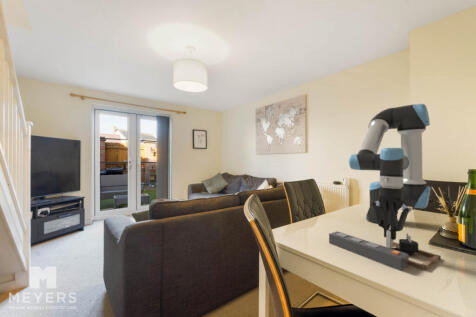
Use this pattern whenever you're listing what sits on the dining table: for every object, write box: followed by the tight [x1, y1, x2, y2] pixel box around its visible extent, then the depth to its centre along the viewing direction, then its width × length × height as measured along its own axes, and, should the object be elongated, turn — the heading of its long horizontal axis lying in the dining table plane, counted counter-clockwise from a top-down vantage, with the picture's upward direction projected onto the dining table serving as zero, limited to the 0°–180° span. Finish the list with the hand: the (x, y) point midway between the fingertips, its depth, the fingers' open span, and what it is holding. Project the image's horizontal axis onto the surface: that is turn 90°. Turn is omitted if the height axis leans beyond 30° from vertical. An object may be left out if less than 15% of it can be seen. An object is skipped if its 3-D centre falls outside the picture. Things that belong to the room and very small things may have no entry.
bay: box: [392, 241, 442, 272], centre depth 76 cm, size 14×14×2 cm
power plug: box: [391, 233, 419, 257], centre depth 80 cm, size 6×8×12 cm
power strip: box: [328, 230, 410, 271], centre depth 80 cm, size 6×26×5 cm, turn 31°
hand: (389, 246), depth 81 cm, fingers closed
